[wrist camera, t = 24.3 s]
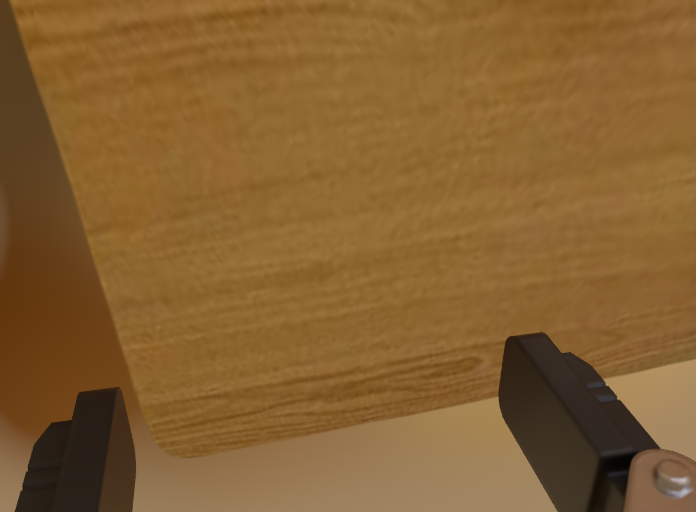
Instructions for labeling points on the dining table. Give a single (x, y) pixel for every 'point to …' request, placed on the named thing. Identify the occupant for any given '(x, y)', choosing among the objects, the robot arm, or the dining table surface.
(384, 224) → the dining table surface
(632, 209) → the dining table surface
